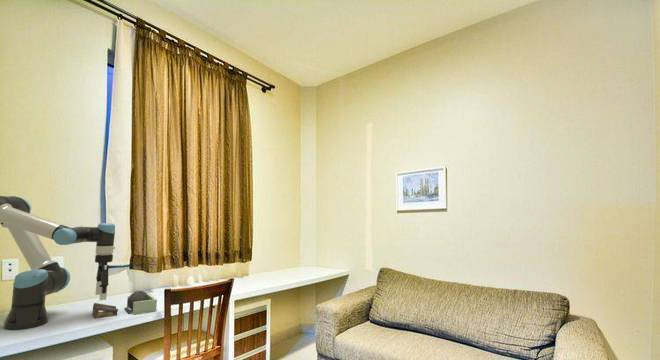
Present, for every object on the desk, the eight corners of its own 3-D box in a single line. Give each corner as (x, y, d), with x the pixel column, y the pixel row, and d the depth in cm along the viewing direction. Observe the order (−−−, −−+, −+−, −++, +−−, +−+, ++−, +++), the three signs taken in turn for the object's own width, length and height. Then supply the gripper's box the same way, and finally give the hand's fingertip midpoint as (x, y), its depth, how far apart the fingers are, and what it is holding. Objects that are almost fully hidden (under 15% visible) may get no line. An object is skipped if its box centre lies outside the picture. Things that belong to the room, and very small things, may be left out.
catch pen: (133, 314, 177) (134, 302, 178) (126, 307, 189) (127, 296, 189) (156, 311, 184) (156, 299, 185) (148, 304, 196) (149, 293, 196)
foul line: (128, 314, 178) (128, 312, 178) (124, 309, 186) (124, 307, 186) (131, 313, 179) (131, 312, 179) (126, 308, 187) (126, 307, 187)
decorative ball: (148, 288, 193) (147, 307, 192) (128, 289, 188) (126, 309, 187) (150, 292, 184) (149, 311, 183) (128, 293, 179) (127, 314, 178)
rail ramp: (94, 318, 169) (95, 306, 170) (91, 314, 176) (92, 302, 177) (118, 315, 176) (119, 303, 176) (115, 311, 183) (116, 299, 183)
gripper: (117, 256, 170) (113, 301, 168) (108, 251, 189) (105, 291, 187) (99, 257, 165) (95, 303, 163) (92, 251, 184) (88, 293, 182)
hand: (100, 297), depth 175 cm, fingers open, 13 cm apart
